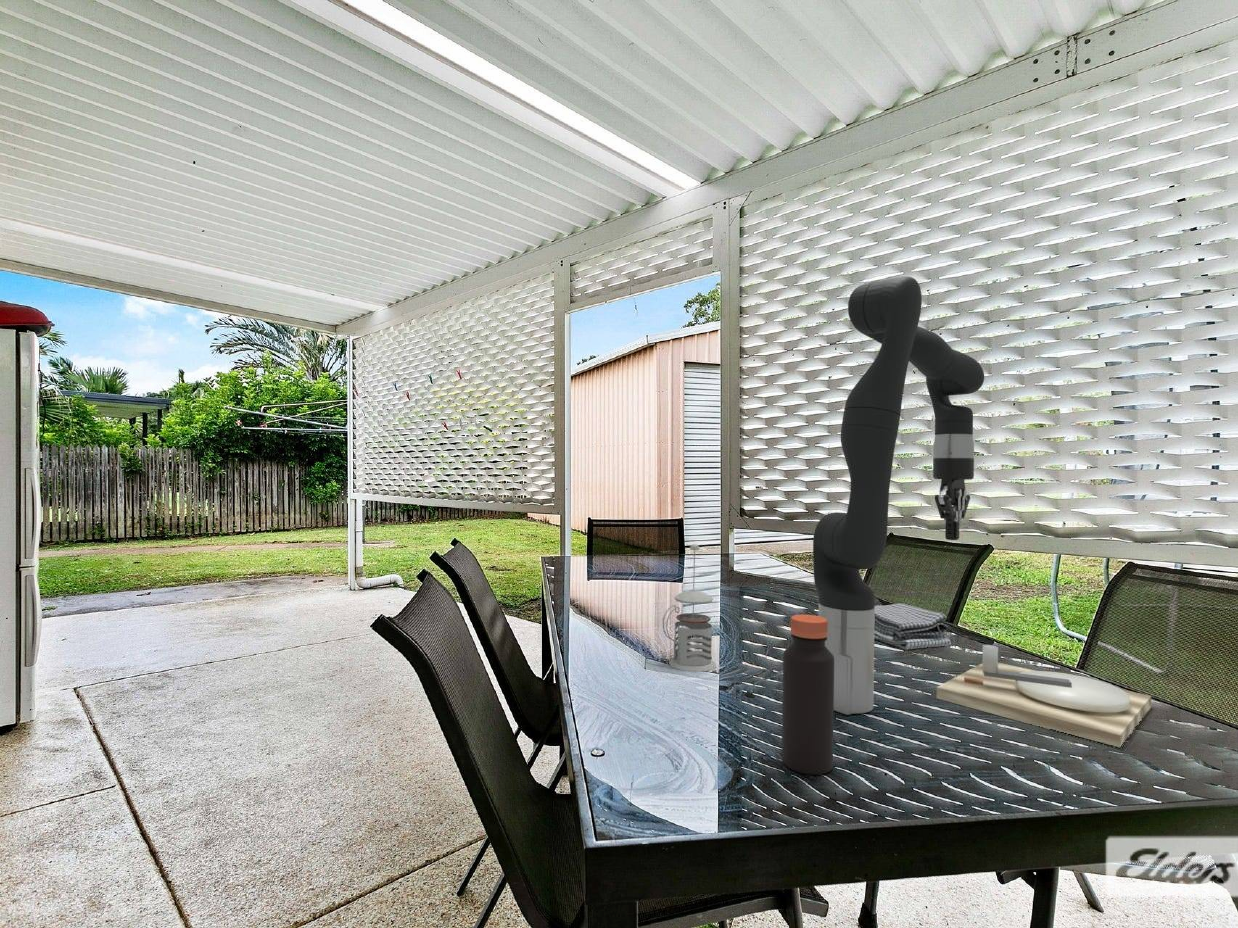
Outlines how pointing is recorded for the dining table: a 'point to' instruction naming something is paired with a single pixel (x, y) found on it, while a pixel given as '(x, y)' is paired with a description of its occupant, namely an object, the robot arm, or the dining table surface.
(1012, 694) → the cutting board
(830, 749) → the bottle
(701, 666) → the french press
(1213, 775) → the dining table surface
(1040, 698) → the dial
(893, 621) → the towel
